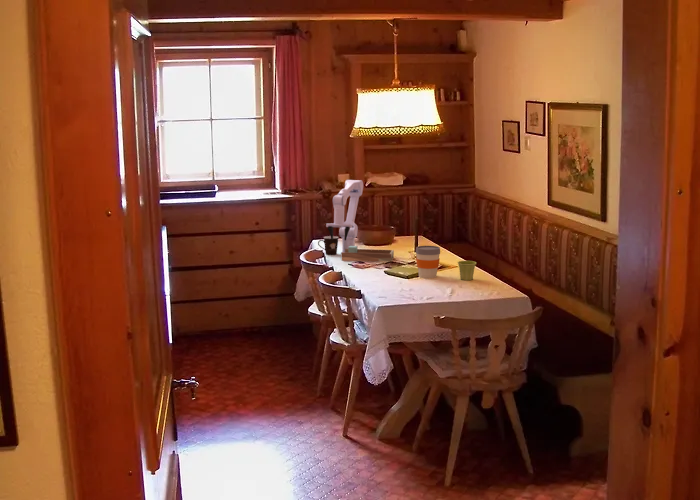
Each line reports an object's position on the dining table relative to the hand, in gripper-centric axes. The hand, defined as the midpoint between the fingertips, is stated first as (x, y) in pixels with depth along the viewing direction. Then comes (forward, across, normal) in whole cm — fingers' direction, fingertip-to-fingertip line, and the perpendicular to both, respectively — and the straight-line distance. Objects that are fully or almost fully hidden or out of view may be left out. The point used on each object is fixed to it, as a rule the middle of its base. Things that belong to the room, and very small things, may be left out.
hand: (338, 239), depth 487 cm
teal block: (+8, +8, +2) cm, 12 cm away
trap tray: (+10, +17, -1) cm, 20 cm away
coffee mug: (+10, -8, +11) cm, 17 cm away
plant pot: (+12, +74, -47) cm, 89 cm away
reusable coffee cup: (+12, +54, -43) cm, 70 cm away
